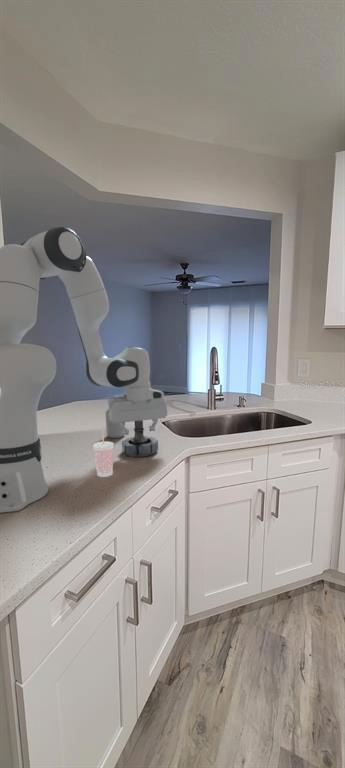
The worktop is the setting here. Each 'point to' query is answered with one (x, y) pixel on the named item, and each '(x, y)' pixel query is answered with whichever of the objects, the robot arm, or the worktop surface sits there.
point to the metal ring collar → (140, 447)
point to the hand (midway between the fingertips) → (139, 432)
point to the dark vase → (139, 434)
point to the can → (113, 427)
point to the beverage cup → (104, 457)
